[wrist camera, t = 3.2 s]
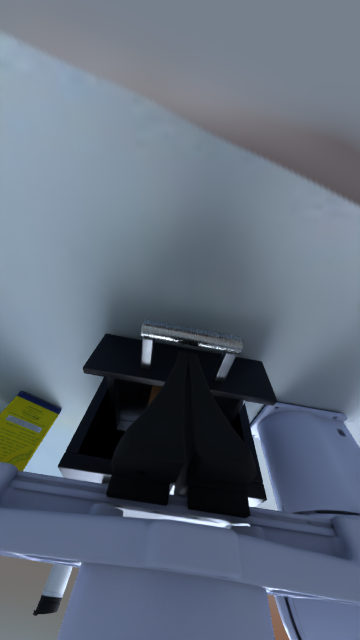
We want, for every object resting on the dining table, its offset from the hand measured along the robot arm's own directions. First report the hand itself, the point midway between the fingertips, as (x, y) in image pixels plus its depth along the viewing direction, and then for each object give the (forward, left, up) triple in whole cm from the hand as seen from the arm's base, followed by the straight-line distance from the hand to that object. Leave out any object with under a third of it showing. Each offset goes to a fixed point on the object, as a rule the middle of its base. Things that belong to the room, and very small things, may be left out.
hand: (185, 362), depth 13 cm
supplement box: (+19, +19, -4) cm, 27 cm away
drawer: (0, +6, -4) cm, 7 cm away
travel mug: (+24, +99, -4) cm, 102 cm away
